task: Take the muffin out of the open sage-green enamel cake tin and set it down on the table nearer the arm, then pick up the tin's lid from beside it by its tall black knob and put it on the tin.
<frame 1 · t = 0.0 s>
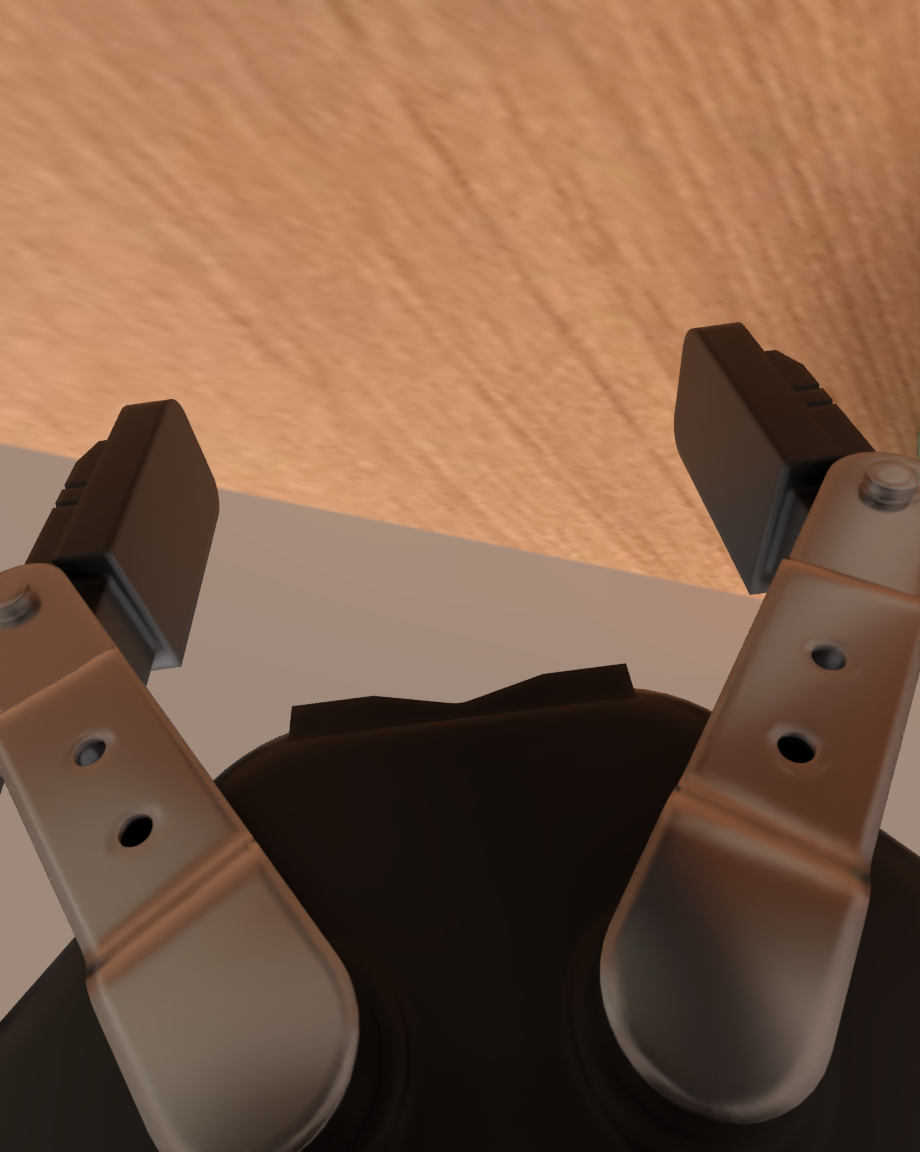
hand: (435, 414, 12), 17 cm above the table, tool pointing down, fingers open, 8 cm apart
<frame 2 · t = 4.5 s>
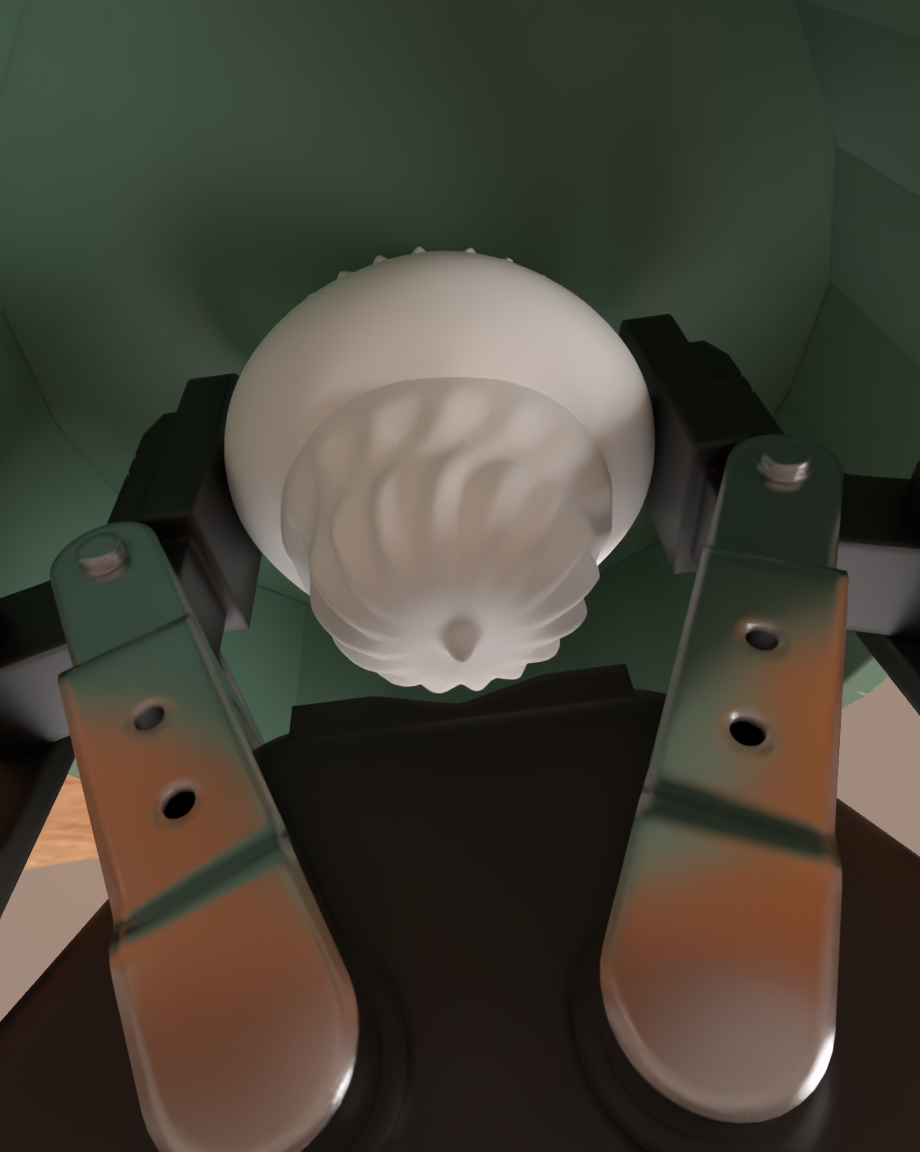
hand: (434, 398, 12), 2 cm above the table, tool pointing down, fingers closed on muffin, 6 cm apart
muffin: (430, 350, 13), resting on tin, touching gripper
tin: (430, 348, 13), on the table
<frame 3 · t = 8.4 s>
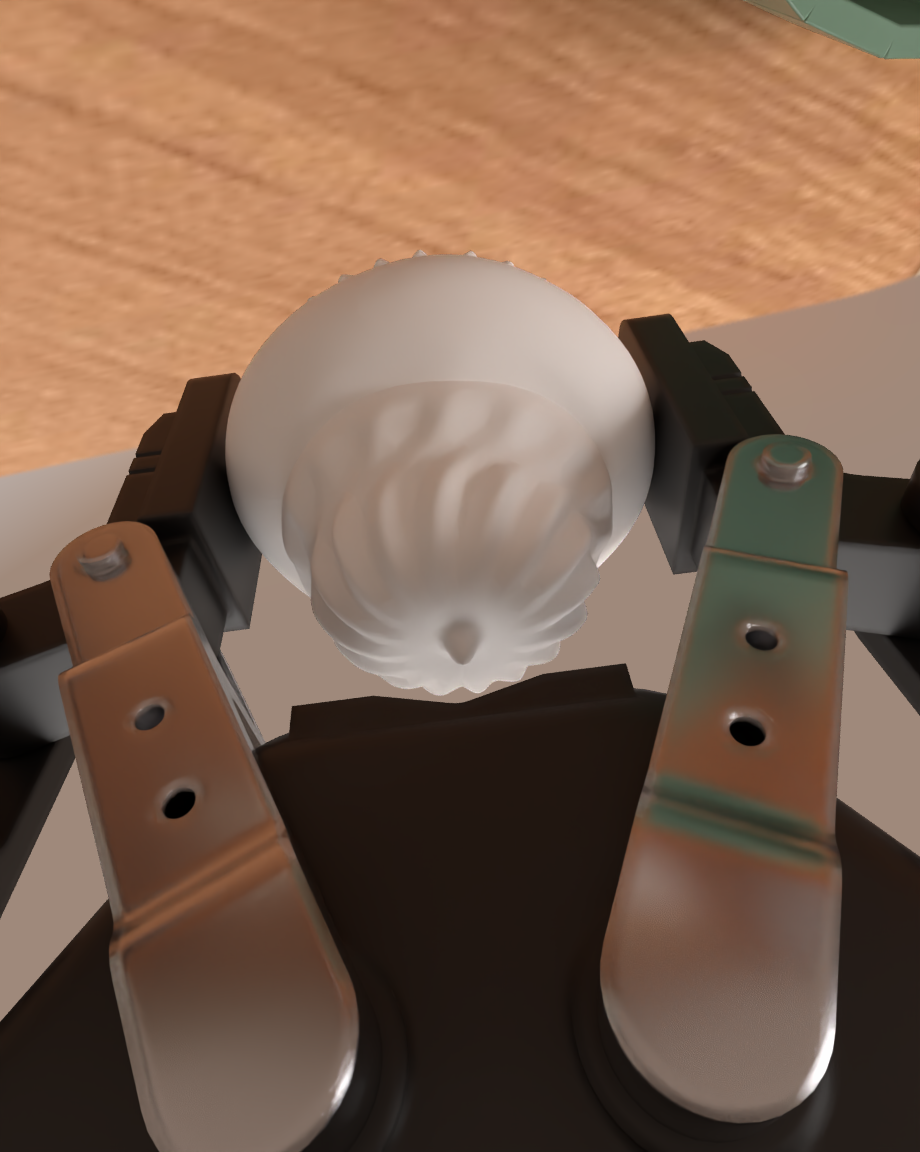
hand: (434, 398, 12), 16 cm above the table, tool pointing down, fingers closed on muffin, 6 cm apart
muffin: (431, 352, 13), point 14 cm above the table, touching gripper
when the fingers open (1 cm above the table, at t = 12.2 s): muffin stays where it is, on the table.
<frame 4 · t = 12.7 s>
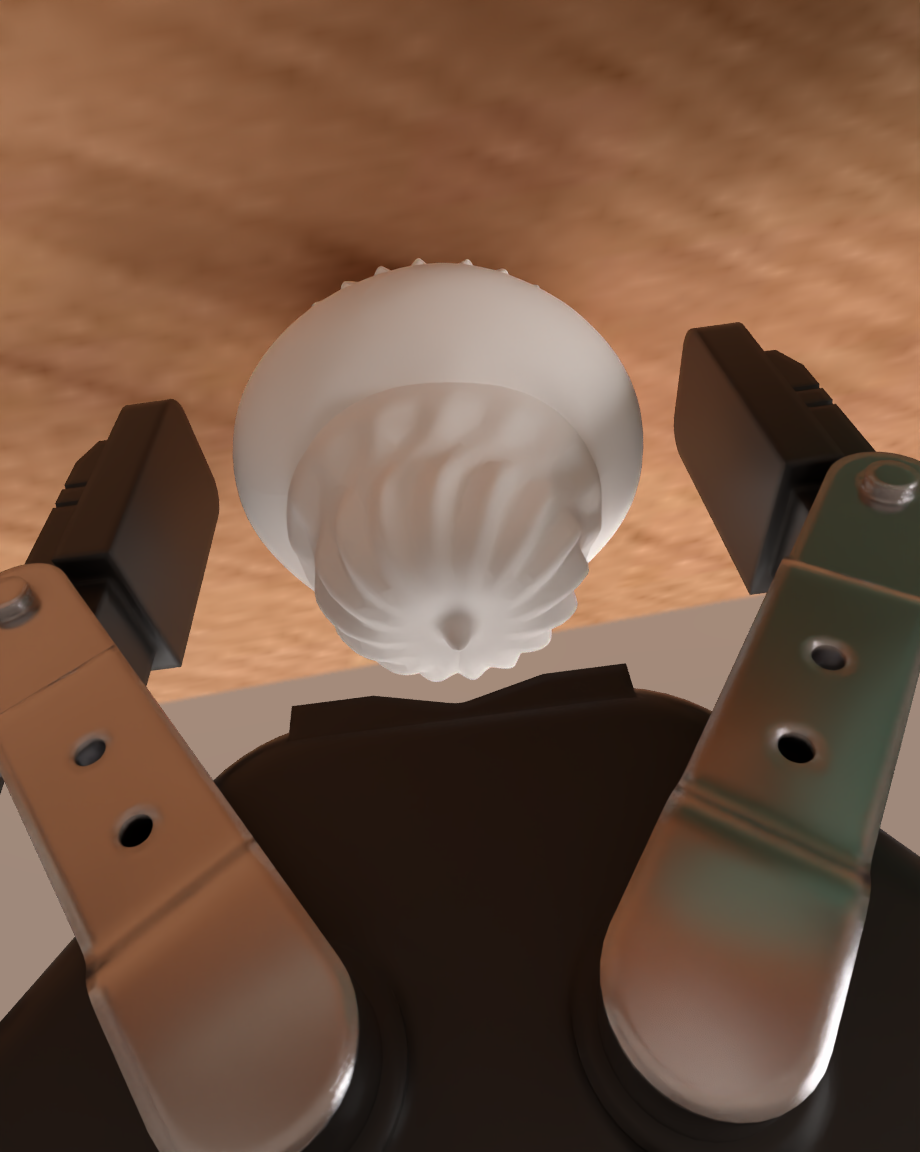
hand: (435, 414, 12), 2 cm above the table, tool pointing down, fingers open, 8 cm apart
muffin: (429, 355, 13), on the table
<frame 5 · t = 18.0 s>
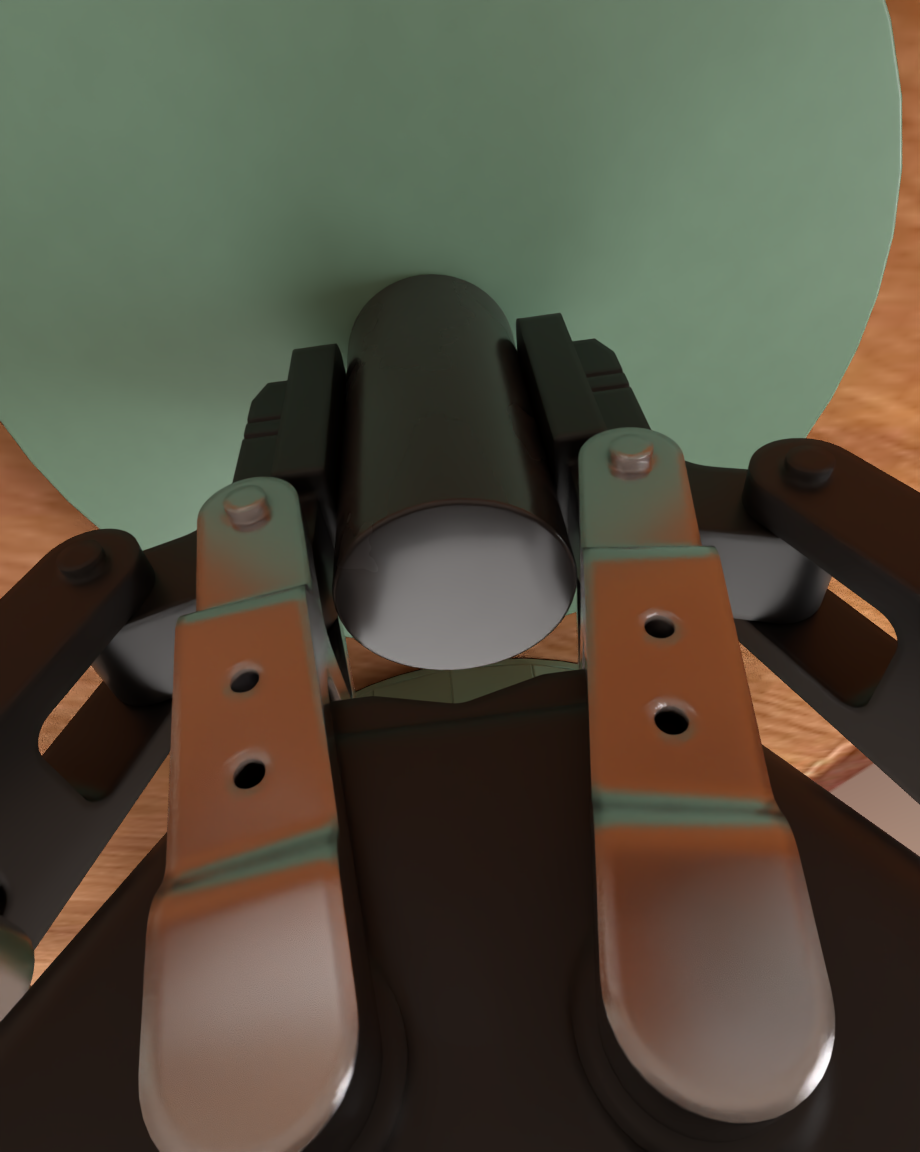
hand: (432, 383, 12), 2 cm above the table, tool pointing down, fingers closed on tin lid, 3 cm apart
tin: (484, 786, 27), on the table
tin lid: (430, 340, 13), point 1 cm above the table, touching gripper
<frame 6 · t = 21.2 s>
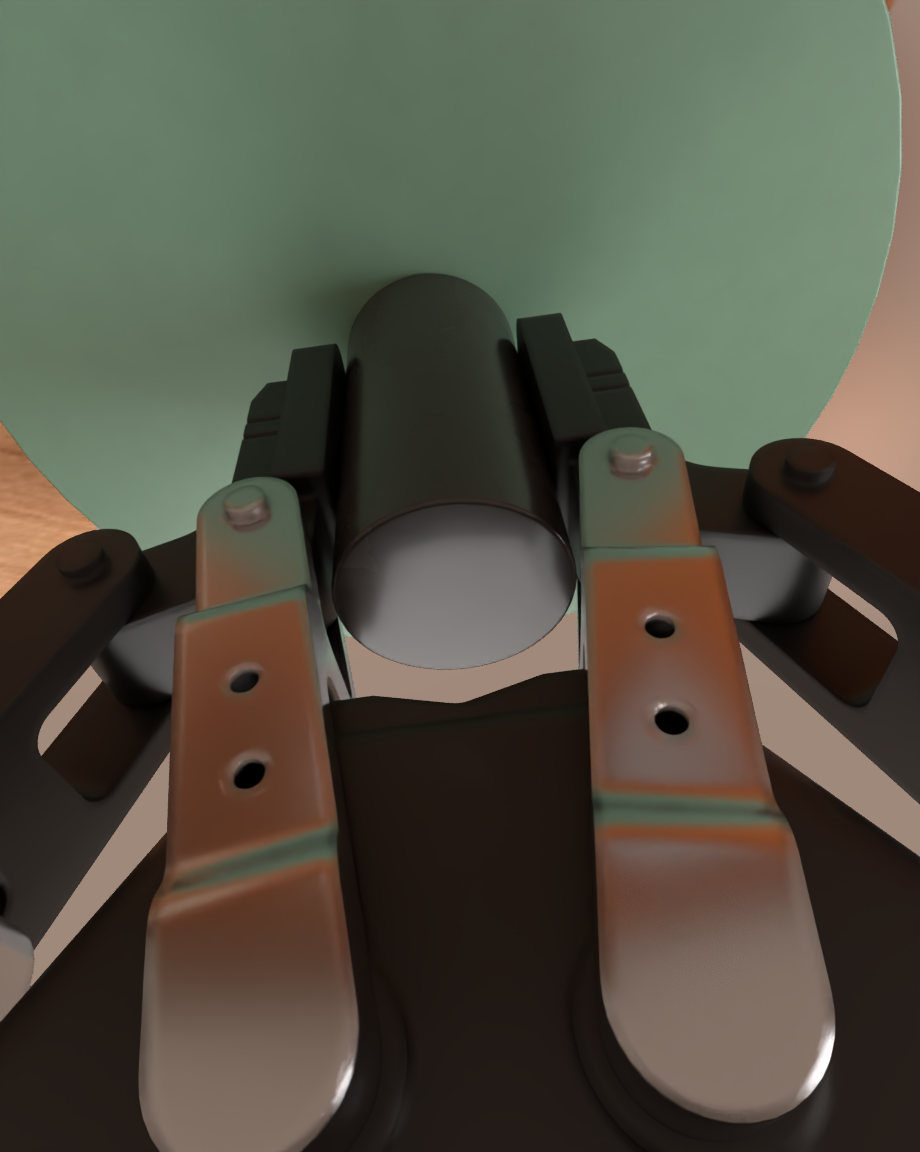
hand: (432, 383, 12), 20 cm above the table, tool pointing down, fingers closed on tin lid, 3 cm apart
tin lid: (429, 339, 13), point 19 cm above the table, touching gripper
when the fingers open (7 cm above the table, at t = 24.7 s): tin lid stays where it is, resting on tin.
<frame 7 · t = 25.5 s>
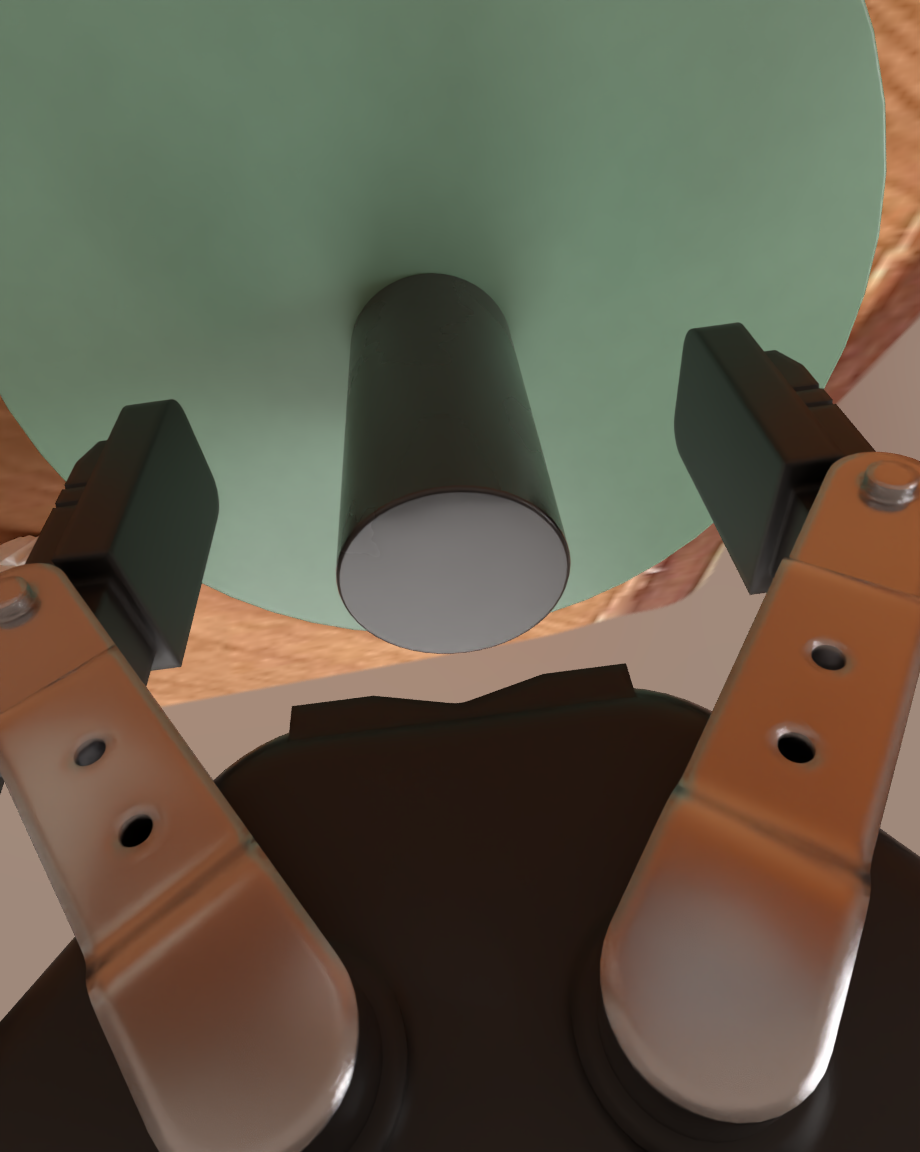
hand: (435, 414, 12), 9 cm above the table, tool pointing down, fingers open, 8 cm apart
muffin: (54, 564, 25), on the table
tin lid: (430, 337, 14), point 6 cm above the table, touching tin
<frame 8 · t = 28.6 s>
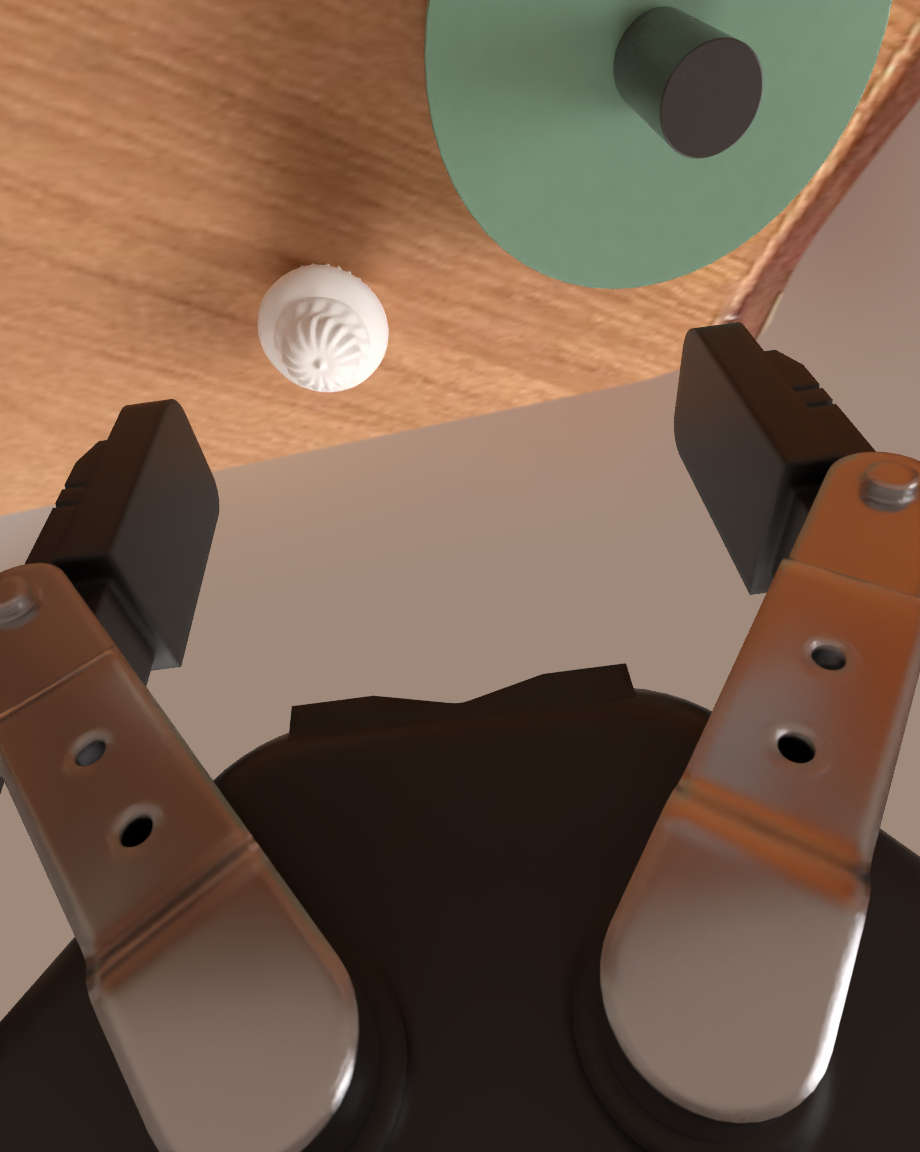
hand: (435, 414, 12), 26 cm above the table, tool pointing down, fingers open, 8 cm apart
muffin: (327, 298, 37), on the table
tin lid: (651, 57, 25), point 6 cm above the table, touching tin
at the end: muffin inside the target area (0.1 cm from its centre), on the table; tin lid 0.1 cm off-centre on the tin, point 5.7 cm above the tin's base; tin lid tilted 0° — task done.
